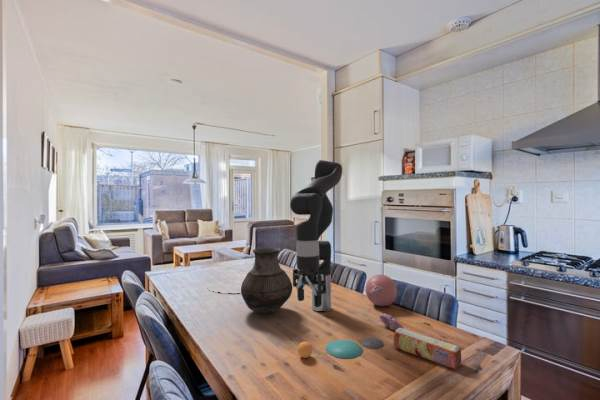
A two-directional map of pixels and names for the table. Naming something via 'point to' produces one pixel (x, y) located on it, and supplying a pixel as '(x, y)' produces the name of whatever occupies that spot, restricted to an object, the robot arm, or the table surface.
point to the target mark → (344, 349)
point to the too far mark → (372, 343)
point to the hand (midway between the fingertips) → (309, 303)
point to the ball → (304, 349)
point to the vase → (266, 283)
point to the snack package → (428, 348)
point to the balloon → (381, 290)
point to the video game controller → (390, 322)
